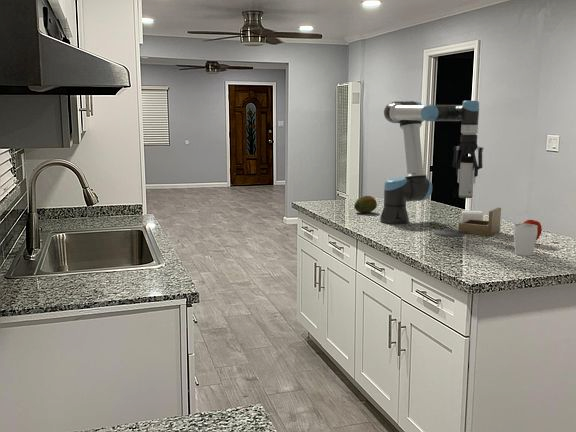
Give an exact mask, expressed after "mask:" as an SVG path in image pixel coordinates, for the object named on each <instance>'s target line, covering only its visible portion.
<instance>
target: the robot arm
mask: <svg viewBox="0 0 576 432" xmlns="http://www.w3.org/2000/svg"><path fill="white" fill-rule="evenodd" d="M479 114H480V102H479V101H478V100H463V101H462V104H422V102H418V101H412V100H411V101H410V100H409V101H407V100H406V101H404V100H403V101H402V100H401V101H399V100H398V101H397V100H396V101H391V102H389V103H388V104H386V106H385V108H384V110H383V115H384V118H385V119H386V121H387V122H389V123H392V124H399V128H400V129H401V130H402V131H403V142H404V144H403V145H404V151H405V152H404V153H405V154H404V155H405V162H406V163H405V165H406V173H407V174H406V175H405V177H401V176H399V177H390V178H388V179H386V180H385V181H384V185H383V190H384V191H383V192H384V193H383V209H382V212H381V215H380V217H379V218H380V219H379V221H380V222H381V223H383V224H389V225H390V224H391V225H401V224H404V225H405V224H408V223H409V222H410V217H409V214H408V211H407V202H421V201H426V200H428V199H429V198H430V196H431V195H432V193H433V183H432V181H431V180H430V179H429V178H428V177H427V174H426V173H425V172H424V165H423V155H422V154H423V153H422V145H421V144H422V143H421V135H420V128H421V127H422V126H423V122H424V121H425V122H461V125H460V126H461V127H460V133H461V135H460V140H459V141H460V144H459V145H457V146H453V158H452V164H451V165H452V167H453V168H455V176H457V183H458V184H459V182H460V164H461V158H463V157H466V155H467V154H468V155H469V156H471V157H473V165H474V170H473V174H472V184H473V185H474V184H476V177H477V178H478V176H479V170H480V169H483V151H484V147H483V146H479V145H478V135H477V134H478V130H479V117H480V116H479ZM460 150H461V151H460ZM459 151H460V156H459ZM476 151H477V157H476ZM458 156H459V158H458Z"/></svg>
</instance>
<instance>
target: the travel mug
mask: <svg viewBox="0 0 576 432" xmlns="http://www.w3.org/2000/svg"><path fill="white" fill-rule="evenodd" d="M473 170H474V165H473V157H471V155H467V156H466V155H465V156H464V157H463V158H461V164H460V182H459V183H458V184H459V185H458V186H459V187H458V197H459V198H461V199H472V198H473V193H474V190H473V189H474V184H472V174H473Z"/></svg>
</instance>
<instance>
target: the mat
mask: <svg viewBox="0 0 576 432" xmlns="http://www.w3.org/2000/svg"><path fill="white" fill-rule="evenodd" d="M433 233H434V235H435V236H441V237H446V238H447V237H449V238H457V237H459V238H460V237H463V236H465V235H466V234H465V233H460V232H459V230H454V229H453V230H452V229H451V230H450V229H442V230H441V229H440V230H439V229H438V230H435V231H434V232H433Z"/></svg>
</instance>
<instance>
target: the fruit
mask: <svg viewBox="0 0 576 432" xmlns="http://www.w3.org/2000/svg"><path fill="white" fill-rule="evenodd" d="M353 207H354V210H356V212H359V213H362V214H366V213H367V214H368V213H371V212H373V211H375V210H376V209H377V208H378V202H377V200H376V199H375V197H373V196H371V195H364V196H361V197H360V198H358V199H357V200H355V202H354V205H353Z"/></svg>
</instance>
